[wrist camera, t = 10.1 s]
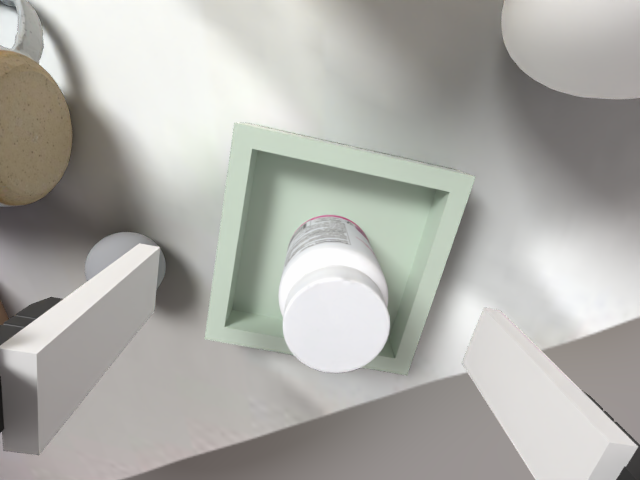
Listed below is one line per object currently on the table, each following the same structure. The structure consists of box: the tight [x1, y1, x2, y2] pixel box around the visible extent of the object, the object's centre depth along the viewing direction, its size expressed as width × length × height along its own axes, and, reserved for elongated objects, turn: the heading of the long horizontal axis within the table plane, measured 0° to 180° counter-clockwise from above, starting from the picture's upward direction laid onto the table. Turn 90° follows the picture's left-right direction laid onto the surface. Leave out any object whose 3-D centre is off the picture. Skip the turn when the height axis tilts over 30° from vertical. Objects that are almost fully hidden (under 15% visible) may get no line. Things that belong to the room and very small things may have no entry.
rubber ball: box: [85, 232, 166, 288], centre depth 21 cm, size 4×4×4 cm
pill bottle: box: [278, 214, 390, 373], centre depth 17 cm, size 5×5×8 cm
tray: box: [205, 123, 475, 376], centre depth 21 cm, size 12×12×3 cm
